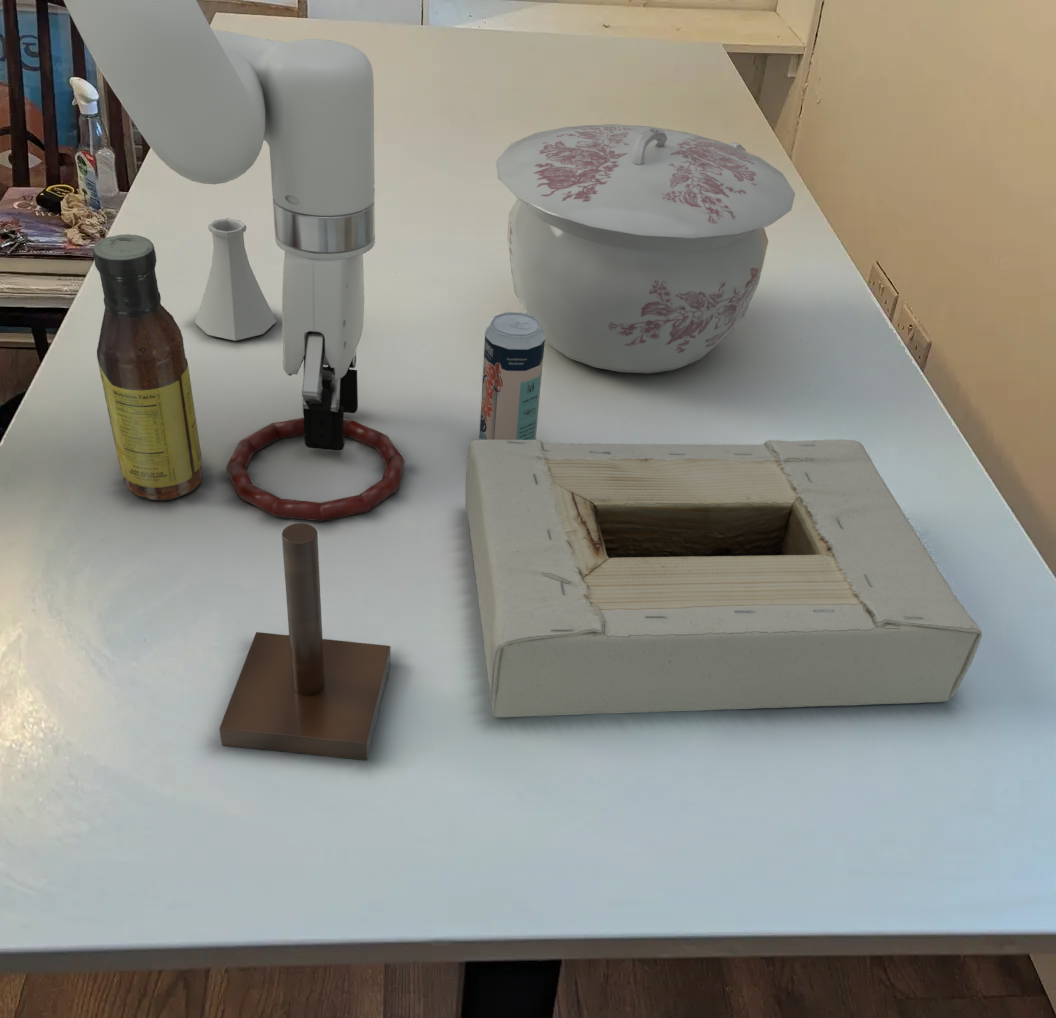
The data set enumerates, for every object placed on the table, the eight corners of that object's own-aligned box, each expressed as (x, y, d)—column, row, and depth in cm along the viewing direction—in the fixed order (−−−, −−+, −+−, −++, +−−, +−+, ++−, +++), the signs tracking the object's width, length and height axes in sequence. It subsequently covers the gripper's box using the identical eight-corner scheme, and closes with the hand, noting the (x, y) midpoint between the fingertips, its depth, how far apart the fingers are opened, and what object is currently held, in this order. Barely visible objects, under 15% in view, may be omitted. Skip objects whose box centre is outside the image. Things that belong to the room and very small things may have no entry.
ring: (209, 513, 91) (207, 498, 90) (254, 421, 101) (253, 406, 101) (387, 531, 91) (387, 516, 90) (413, 437, 101) (414, 423, 100)
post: (221, 745, 72) (198, 572, 64) (257, 648, 79) (241, 481, 71) (366, 760, 72) (363, 590, 64) (390, 662, 79) (390, 496, 71)
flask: (181, 325, 114) (169, 224, 107) (236, 301, 119) (227, 203, 112) (235, 349, 111) (226, 247, 105) (289, 324, 116) (283, 225, 109)
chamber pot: (506, 413, 106) (523, 183, 92) (470, 281, 126) (479, 77, 113) (802, 408, 110) (858, 188, 97) (720, 281, 131) (757, 86, 118)
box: (489, 729, 75) (958, 706, 80) (495, 637, 71) (994, 618, 75) (457, 520, 93) (842, 511, 98) (460, 435, 88) (865, 430, 93)
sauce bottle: (158, 453, 97) (123, 216, 84) (220, 476, 95) (195, 237, 82) (102, 491, 92) (57, 247, 79) (167, 516, 90) (131, 270, 77)
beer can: (485, 433, 103) (493, 305, 95) (539, 443, 102) (551, 315, 95) (472, 462, 99) (479, 331, 91) (528, 472, 99) (539, 341, 91)
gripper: (300, 176, 96) (309, 375, 107) (246, 263, 83) (263, 479, 94) (392, 186, 96) (392, 384, 107) (353, 274, 82) (357, 489, 94)
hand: (332, 426), depth 100 cm, fingers open, 5 cm apart
